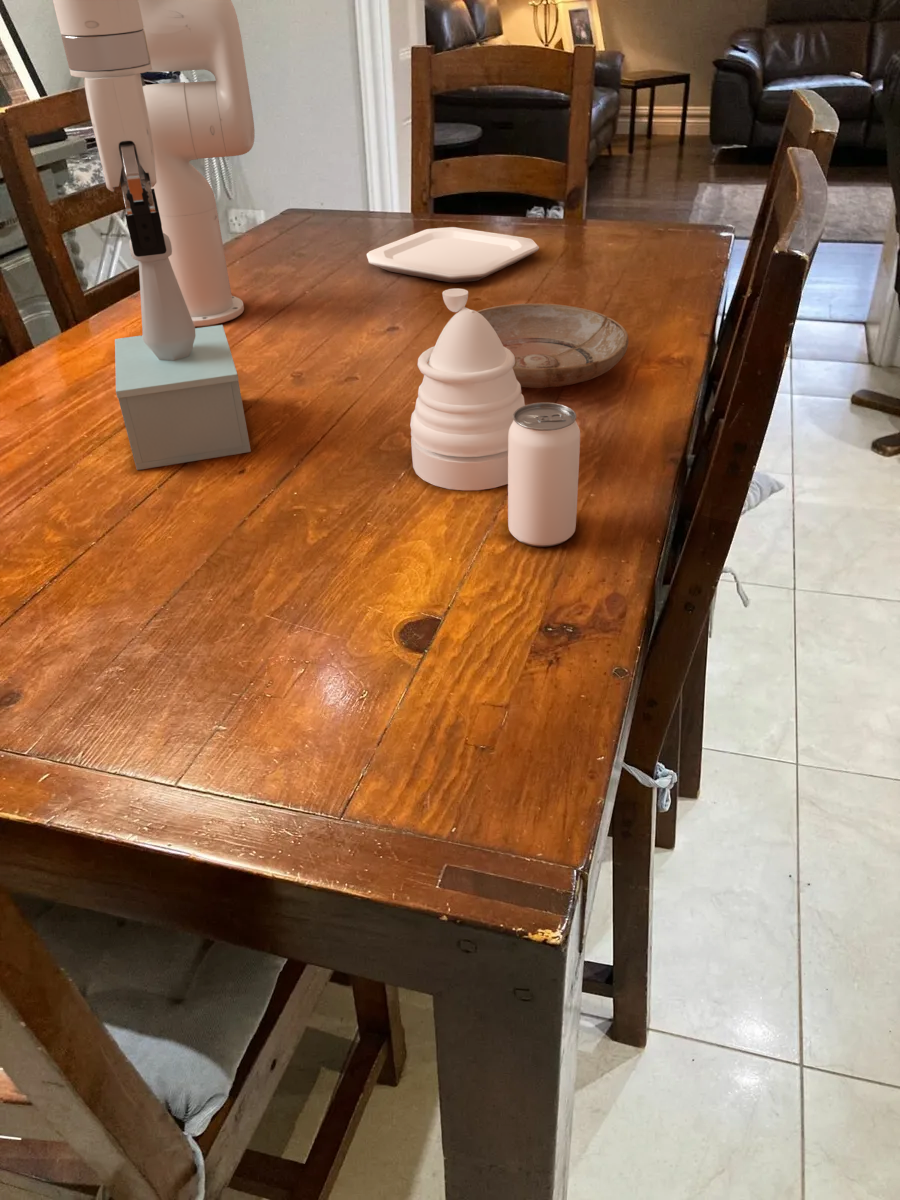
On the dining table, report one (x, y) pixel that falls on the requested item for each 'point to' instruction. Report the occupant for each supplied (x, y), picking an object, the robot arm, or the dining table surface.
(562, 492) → the can
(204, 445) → the chest
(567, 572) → the dining table surface
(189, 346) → the salt shaker
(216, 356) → the lid
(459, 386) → the honey pot
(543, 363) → the ceramic bowl
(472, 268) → the plate
